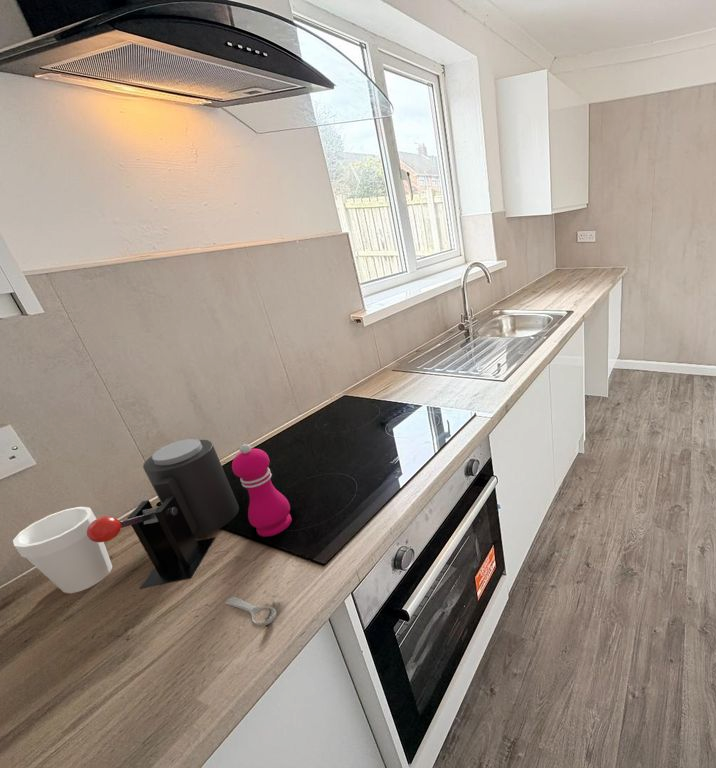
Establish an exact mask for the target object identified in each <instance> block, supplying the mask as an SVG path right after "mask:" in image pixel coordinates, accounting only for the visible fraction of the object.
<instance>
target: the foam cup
mask: <svg viewBox="0 0 716 768" xmlns="http://www.w3.org/2000/svg"><path fill="white" fill-rule="evenodd" d="M96 519H97V517H96V515H95V514H94V512H93V510H92V509H91V508H90V507H89V506H76V507H71V508H66V509H63V510H60V511H57V512H55V513H51V514H49V515H47V516H45V517H43V518H41V519H39V520H36V521H34V522H33V523H31V524H30V525H28V526H27V527H25V528H24V529H22V530H21V531H19V532H18V534H17V535H16V536H15V537H14V538H13V539H12V543H13V547H14V548H15V549H16V551H17V552H18V553H19V555H20V556H21V557H22V558H25V559H26V560H28V561H29V562H30V563H31V564H32V565H33V566H34V567H35V568H36V569H37V570H38V571H40V572H41V574H43V575H44V576H45V577H46V578H47V579H49V581H51V582H52V583H53V584H54V586H56V587H57V588H58V589H59V590H61V592H63V593H65V594H75V593H79V592H82V591H84V590H87V589H90V588H91V587H94V586H95V585H96V584H98V583H99V582H101V581H103V580H104V579H105V578H106V577H107V576H108V575H109V574H110V573H111V571H112V569H113V564H112V561H111V559H110V556H109V553H108V550H107V548H106V547H107V546H106V545H105V542H94V541H92V540H90V539H89V538H88V536H87V528H88V526H89V525H90V524H91V523H92V522H93V521H94V520H96Z"/></svg>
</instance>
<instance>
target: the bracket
mask: <svg viewBox="0 0 716 768" xmlns="http://www.w3.org/2000/svg"><path fill="white" fill-rule="evenodd" d="M159 506H160V507H159ZM159 506H158V507H159V508H158V509H157V510H156V512H155V513H154V514H155V515H156V517H157V519H158V521H159V522H155V523H150V524H145V525H144V524H143V522H140V523H137V524H134V525H130V526H131V527H132V529H133V531H134V533H135V535H136V536H137V538H138V540H139V542H140V544H141V545H142V548H143V549H144V551H145V552H146V554H147V556H148V558H149V560H150V561H151V563H152V564H153V567H154V568H153V569H152V570H151V571H150V573H149V575H148V576H147V577H146V578H145V580H144V582H143V583H142V584H141V586H140V587H139V588H138V589H139V590H141V589H146V588H152V587H155V586H161V585H165V584H171V583H175V582H180V581H185V580H189V579H192V578H193V576H194V574H195V573H196V572H197V570H198V568H199V567H200V565H201V563H202V562H203V560H204V558H205V556H206V555H207V553H208V551H209V549H210V548H211V546H212V545H213V543H214V542H215V539H216V538H217V537H216V536H215V537H209V538H204V539H199V540H197V538H195V537H194V535H193V533H192V531H191V529H190V527H189V525H188V523H187V521H186V519H185V517H184V515H183V513H182V511H181V509H180V506H179V504H178V502H177V500H176V498H175V496H170V497H168V498H167V499H166V500H165V501H164V502H163V503H162V504H160V505H159ZM150 508H154V507H153V505H152V504H151V502H150V500H149V499H147V500H143V501H141V502H140V504H138V506H137V507H136V508H135V509H134V510H133V511H132V512H131V513H130V514H129V515H128V516H127V517H126V519H130V518H133V517H137V516H141V515H143V512H142V511H143V510H146V509H150Z"/></svg>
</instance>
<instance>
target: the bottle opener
mask: <svg viewBox="0 0 716 768" xmlns="http://www.w3.org/2000/svg"><path fill="white" fill-rule="evenodd" d="M225 605H227V606H231V607H233V608H237V609H240V610H242V611H245V612H247V613H249V614H250V616H251V621H252V623H253V624H254V625H257V626H268V625H270V624H271V623H273V622H274V621H275V619H276V617H277V610H276V608H274V607H273V606H268V605H266V606H255V605H253V604H251V603H249V602H248V601H246V600H243V599H241V598H238V597H236V596H232V597H230V598H229V599H228V600H226V601H225ZM263 609H270V611H269V613H268V616H267V618H266V621H263V622H257V621H255V619H254V617H255V614H256V613H258V612H259V611H260V610H263Z"/></svg>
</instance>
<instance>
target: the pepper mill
mask: <svg viewBox="0 0 716 768" xmlns="http://www.w3.org/2000/svg"><path fill="white" fill-rule="evenodd" d="M270 461H271V460H270V458H269V455H268V454H267V452H266V451H264V450H263V449H260V448H252V447H251V445H250V444H248V443H243V444H242V445H240V447H239V453H237V455H236V456H235V457H234V458H233V460H232V462H231V470H232V472H233V474H234V475H235V477H238V478H240V479H239V481H240V483H241V486H242V488H245V489H246V490H247V493H248V496H249V504H248V509H247V519H248V522H249V524H250V525H251V526H252V527H254V528H256V529H255V530H256V533H257V535H258V536H260V537H264V538H265V537H266V538H267V537H273V536H276V535H278V534H280V533H282V532H284V531H285V530H286V529H287V528H288V527H289V526H290V525H291V524H292V520H293V518H292V515H291V514H290V511H291V504H290V502H289V500H288V499H287V497H286V496H285V495H284V494H283V493H282V492H280V491H279V490H278V489H276V487H275V486H274V485H273V483H272V479H271V478H272V475H273V473H272V472H271V469H270V468H269V466H270Z"/></svg>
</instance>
